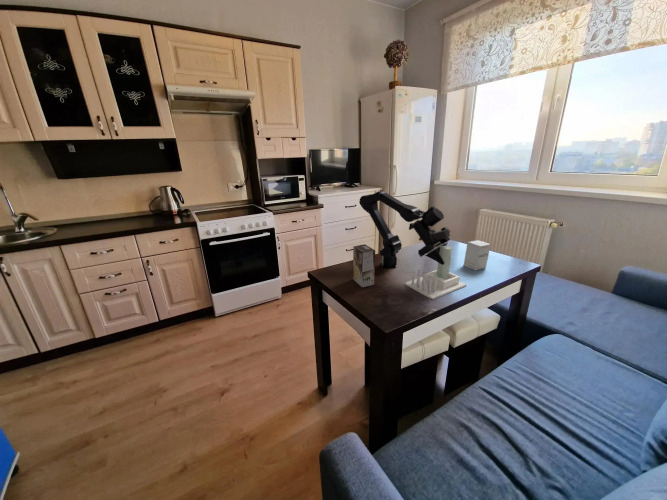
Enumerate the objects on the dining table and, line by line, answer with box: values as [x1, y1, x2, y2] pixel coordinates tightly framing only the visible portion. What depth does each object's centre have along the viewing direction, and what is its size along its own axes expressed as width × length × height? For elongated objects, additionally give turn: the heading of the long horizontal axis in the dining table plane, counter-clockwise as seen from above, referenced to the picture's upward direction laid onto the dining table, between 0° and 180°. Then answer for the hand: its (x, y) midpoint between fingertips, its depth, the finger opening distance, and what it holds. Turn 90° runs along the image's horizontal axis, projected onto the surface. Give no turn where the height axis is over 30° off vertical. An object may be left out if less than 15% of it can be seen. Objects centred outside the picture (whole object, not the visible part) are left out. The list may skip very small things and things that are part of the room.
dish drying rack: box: [404, 269, 467, 300], centre depth 116 cm, size 21×15×7 cm
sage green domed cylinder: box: [436, 245, 453, 278], centre depth 115 cm, size 5×5×13 cm
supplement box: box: [463, 239, 491, 271], centre depth 132 cm, size 7×7×13 cm
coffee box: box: [352, 243, 376, 288], centre depth 118 cm, size 9×6×16 cm
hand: (446, 262), depth 115 cm, fingers closed on sage green domed cylinder, 5 cm apart
